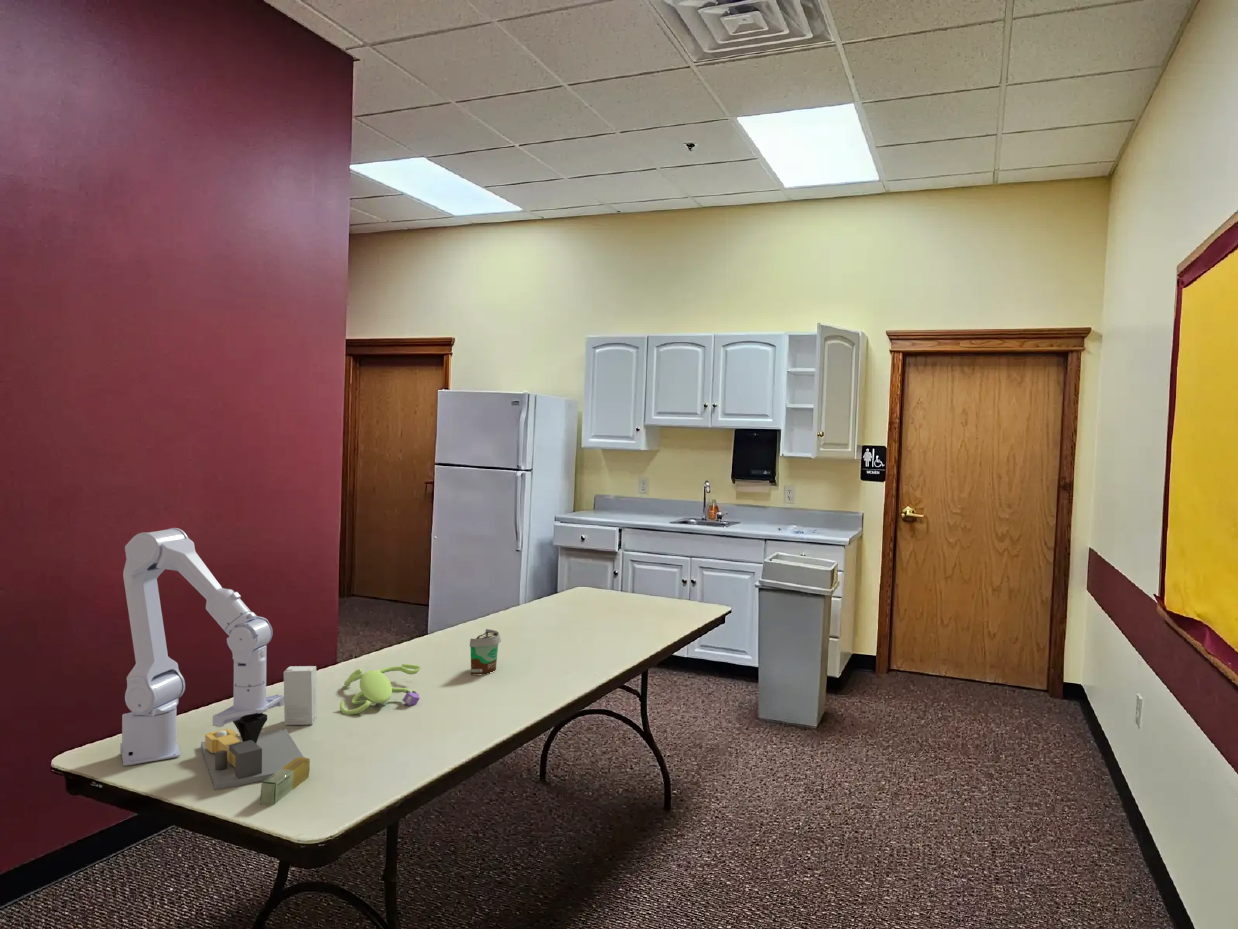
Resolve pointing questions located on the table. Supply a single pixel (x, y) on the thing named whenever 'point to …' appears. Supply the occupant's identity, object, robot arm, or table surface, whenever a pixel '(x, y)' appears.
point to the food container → (484, 652)
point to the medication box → (284, 781)
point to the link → (222, 743)
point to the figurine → (378, 688)
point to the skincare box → (300, 695)
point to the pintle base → (251, 759)
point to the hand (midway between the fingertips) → (249, 752)
